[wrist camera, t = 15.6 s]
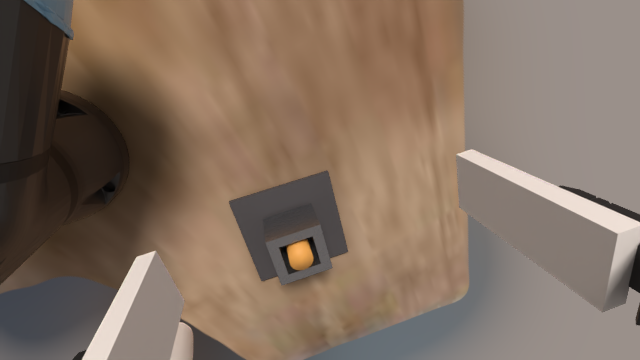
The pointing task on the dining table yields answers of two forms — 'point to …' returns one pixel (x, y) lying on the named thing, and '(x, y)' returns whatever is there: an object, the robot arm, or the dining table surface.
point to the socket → (291, 230)
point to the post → (300, 254)
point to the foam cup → (183, 343)
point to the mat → (284, 199)
